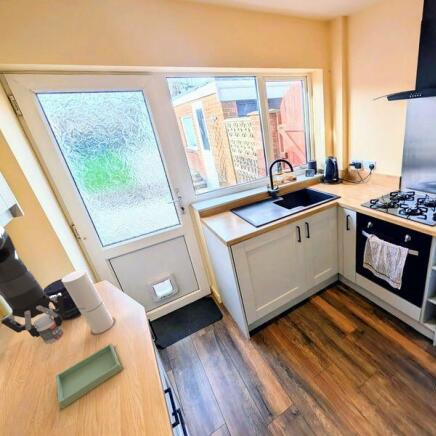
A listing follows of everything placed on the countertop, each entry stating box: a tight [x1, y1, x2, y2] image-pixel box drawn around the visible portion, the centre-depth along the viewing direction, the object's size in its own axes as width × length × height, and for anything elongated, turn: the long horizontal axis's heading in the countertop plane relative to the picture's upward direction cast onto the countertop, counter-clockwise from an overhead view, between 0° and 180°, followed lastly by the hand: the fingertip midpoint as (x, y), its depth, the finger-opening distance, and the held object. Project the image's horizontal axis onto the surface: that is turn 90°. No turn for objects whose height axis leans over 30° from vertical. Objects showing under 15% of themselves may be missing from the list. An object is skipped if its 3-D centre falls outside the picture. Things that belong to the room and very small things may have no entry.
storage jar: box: [43, 278, 82, 321], centre depth 105 cm, size 10×10×15 cm
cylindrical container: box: [61, 269, 114, 335], centre depth 93 cm, size 7×7×25 cm
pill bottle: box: [33, 314, 65, 345], centre depth 78 cm, size 5×5×8 cm
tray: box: [55, 343, 123, 409], centre depth 79 cm, size 15×12×2 cm
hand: (49, 329), depth 79 cm, fingers closed on pill bottle, 4 cm apart
